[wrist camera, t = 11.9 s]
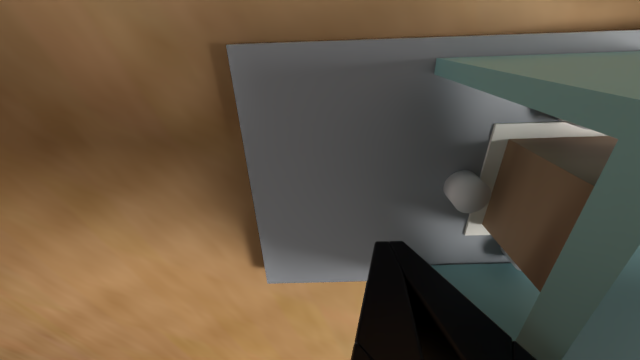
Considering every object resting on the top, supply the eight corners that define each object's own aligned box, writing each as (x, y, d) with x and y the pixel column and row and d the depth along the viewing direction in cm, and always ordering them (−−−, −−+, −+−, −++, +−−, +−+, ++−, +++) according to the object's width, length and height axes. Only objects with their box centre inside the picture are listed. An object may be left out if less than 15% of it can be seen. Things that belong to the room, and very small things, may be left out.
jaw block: (616, 135, 10) (935, 245, 5) (572, 222, 12) (769, 368, 7) (508, 138, 10) (711, 250, 5) (482, 224, 12) (607, 371, 7)
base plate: (720, 26, 9) (811, 24, 8) (585, 260, 15) (621, 291, 13) (234, 43, 10) (215, 46, 8) (270, 268, 15) (264, 300, 13)
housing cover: (653, 50, 9) (1506, 92, 2) (545, 269, 13) (746, 480, 7) (436, 57, 9) (725, 117, 3) (403, 273, 14) (476, 483, 7)
